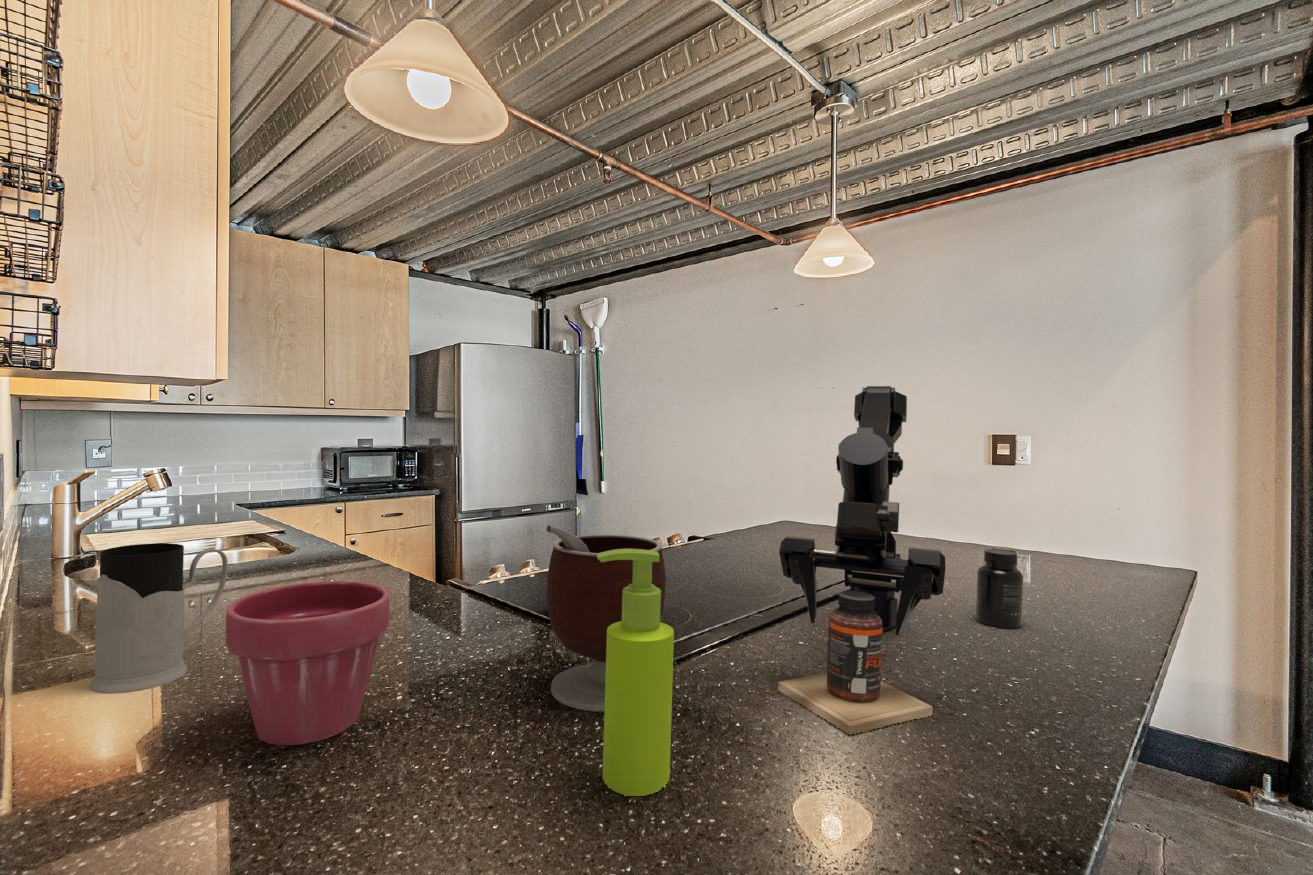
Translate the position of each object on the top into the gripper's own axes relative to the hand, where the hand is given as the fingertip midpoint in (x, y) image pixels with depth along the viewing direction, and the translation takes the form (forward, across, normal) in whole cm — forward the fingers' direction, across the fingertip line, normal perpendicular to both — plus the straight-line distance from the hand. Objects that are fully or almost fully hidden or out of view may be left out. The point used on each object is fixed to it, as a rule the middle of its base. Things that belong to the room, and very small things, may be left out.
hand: (853, 627), depth 70 cm
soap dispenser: (+23, -17, -10) cm, 30 cm away
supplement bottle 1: (+5, 0, +7) cm, 8 cm away
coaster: (+5, 0, +7) cm, 9 cm away
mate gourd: (+12, -28, +1) cm, 30 cm away
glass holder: (+25, -77, -12) cm, 82 cm away
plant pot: (+27, -50, -14) cm, 58 cm away
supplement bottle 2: (-26, +20, +39) cm, 51 cm away
